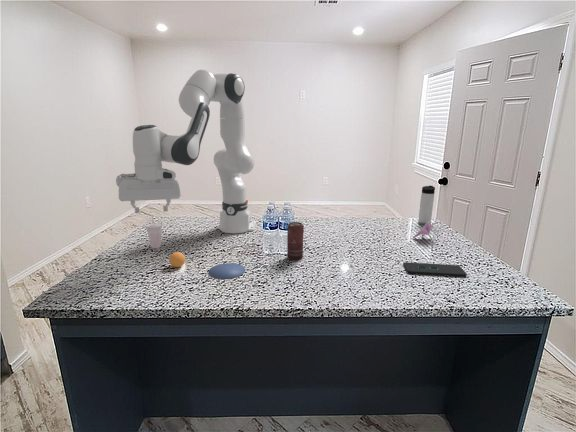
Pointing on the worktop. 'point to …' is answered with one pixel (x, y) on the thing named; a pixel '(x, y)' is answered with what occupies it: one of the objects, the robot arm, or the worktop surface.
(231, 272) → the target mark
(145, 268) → the worktop surface
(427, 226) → the pink bird figurine
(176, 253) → the ball
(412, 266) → the smart home device
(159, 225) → the smoothie
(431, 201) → the travel mug
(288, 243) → the can
